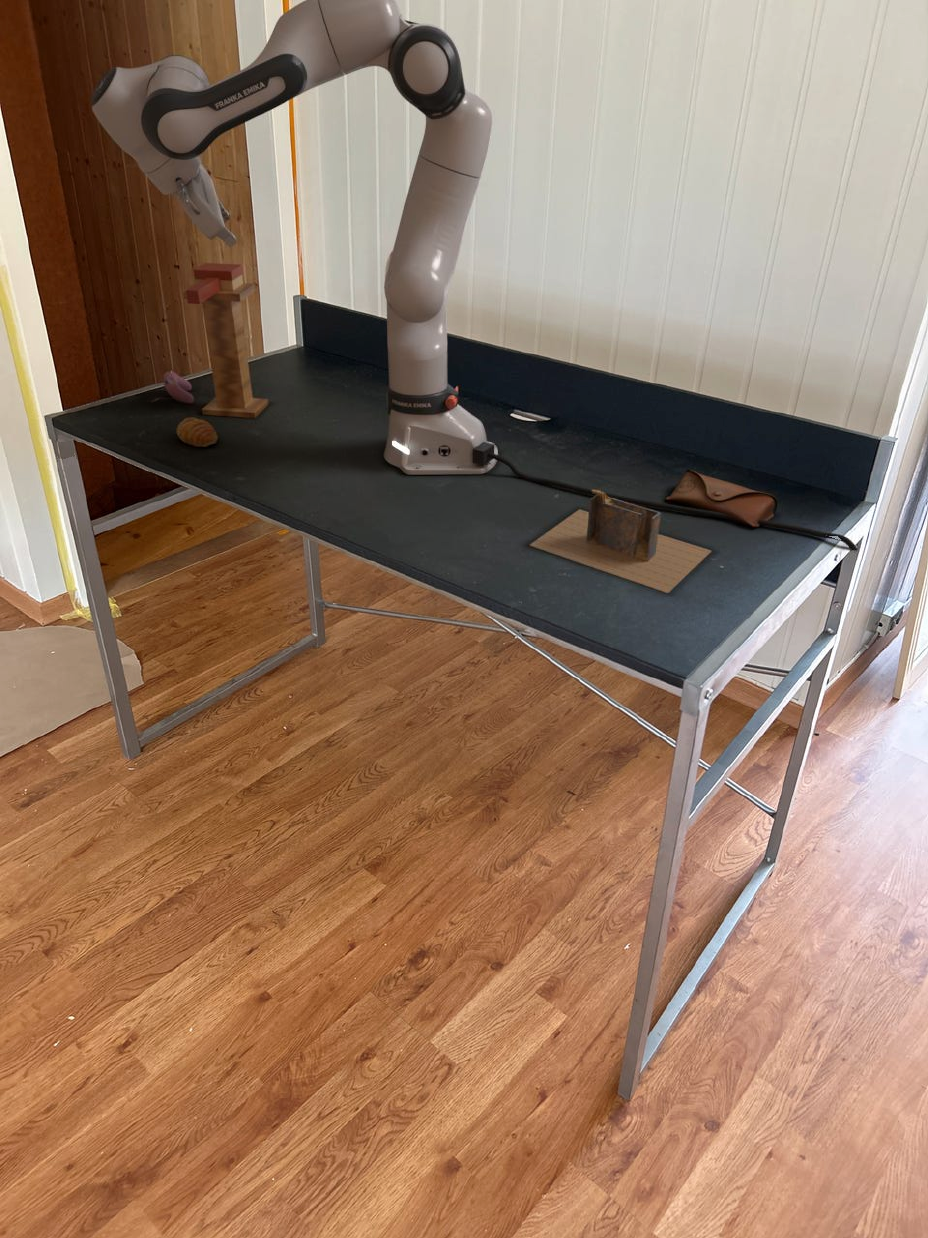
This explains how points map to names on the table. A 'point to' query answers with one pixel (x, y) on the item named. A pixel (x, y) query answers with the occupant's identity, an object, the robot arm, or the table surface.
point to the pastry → (196, 432)
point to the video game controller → (178, 387)
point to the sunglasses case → (724, 498)
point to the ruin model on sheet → (623, 543)
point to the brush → (214, 281)
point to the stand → (229, 355)
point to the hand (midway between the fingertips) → (230, 230)
